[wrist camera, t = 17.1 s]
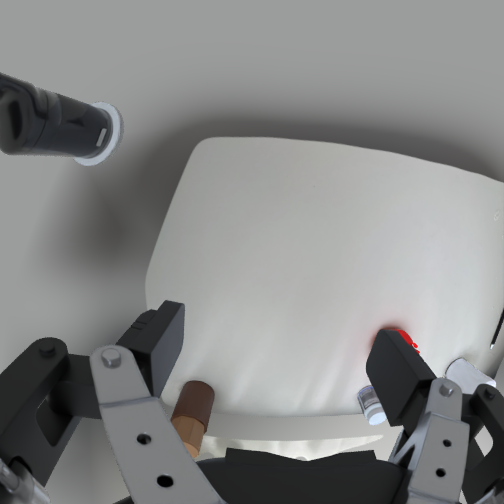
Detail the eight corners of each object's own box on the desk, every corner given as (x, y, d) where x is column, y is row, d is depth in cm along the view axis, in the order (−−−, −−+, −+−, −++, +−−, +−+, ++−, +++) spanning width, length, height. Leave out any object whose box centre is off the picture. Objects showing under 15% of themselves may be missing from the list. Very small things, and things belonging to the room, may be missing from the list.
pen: (513, 279, 42) (516, 281, 41) (490, 348, 47) (492, 350, 46) (511, 279, 42) (514, 281, 41) (488, 348, 47) (490, 350, 46)
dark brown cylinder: (183, 399, 53) (166, 446, 39) (182, 377, 51) (163, 426, 37) (213, 405, 52) (202, 454, 39) (215, 384, 51) (203, 435, 37)
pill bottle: (373, 399, 51) (384, 425, 43) (354, 401, 51) (363, 427, 43) (379, 384, 50) (392, 409, 41) (360, 385, 50) (371, 412, 42)
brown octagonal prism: (174, 431, 43) (166, 453, 37) (172, 413, 41) (163, 437, 35) (203, 437, 43) (198, 461, 37) (204, 420, 41) (198, 445, 35)
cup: (469, 343, 47) (498, 372, 34) (469, 369, 49) (494, 397, 36) (437, 366, 48) (463, 399, 36) (440, 390, 50) (462, 422, 38)
